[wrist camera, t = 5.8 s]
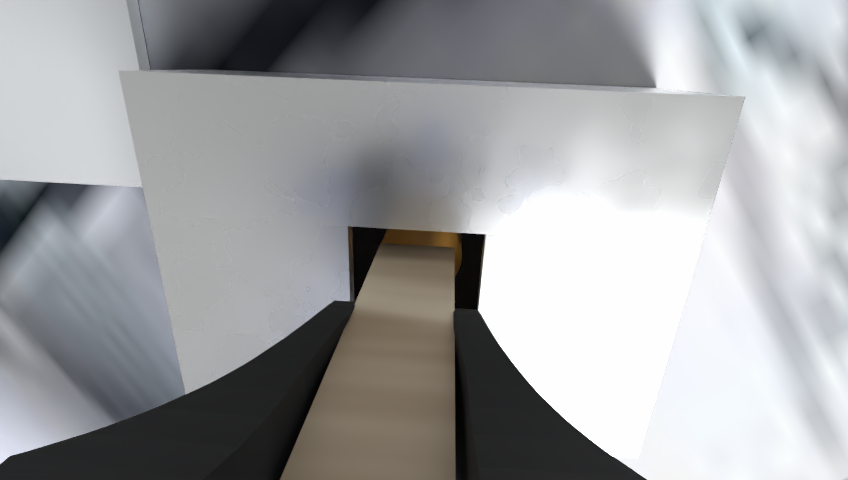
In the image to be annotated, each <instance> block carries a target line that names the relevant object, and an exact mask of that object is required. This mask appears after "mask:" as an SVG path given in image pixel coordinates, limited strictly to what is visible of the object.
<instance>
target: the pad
mask: <svg viewBox="0 0 848 480" xmlns="http://www.w3.org/2000/svg"><path fill="white" fill-rule="evenodd" d="M118 70H150V65H149V60H148V54H147V49H146V43H145V38H144V32H143V27H142V21H141V16H140V10H139V5H138V0H0V179H2V180H20V181H38V182H56V183H74V184H92V185H111V186H129V187H142V182H141V177H140V173H139V168H138V163H137V158H136V154H135V149H134V144H133V139H132V134H131V130H130V125H129V120H128V115H127V110H126V106H125V101H124V96H123V91H122V86H121V82H120V77H119V72H118Z"/></svg>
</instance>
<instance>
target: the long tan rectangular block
mask: <svg viewBox="0 0 848 480" xmlns="http://www.w3.org/2000/svg"><path fill="white" fill-rule="evenodd" d="M354 305H355V307H354V310H353V312H352V314H351V317H350V319H349V321H348V323H347V325H346V326H345V328H344V330H343V333H342V335H341V337H340V340H339V342H338V344H337V347H336V349H335V351H334V354H333V356H332V358H331V361H330V363H329V365H328V368H327V370H326V373H325V375H324V377H323V380H322V382H321V384H320V387H319V389H318V391H317V394H316V396H315V398H314V401H313V403H312V405H311V408H310V410H309V413H308V415H307V417H306V420H305V422H304V424H303V427H302V429H301V431H300V434H299V436H298V438H297V441H296V443H295V445H294V448H293V450H292V453H291V455H290V457H289V460H288V462H287V464H286V467H285V469H284V471H283V474H282V476H281V478H280V480H455V334H454V328H453V311H455V278H454V247H438V246H422V245H405V244H388V243H380V245H379V248H378V250H377V253H376V255H375V257H374V260H373V262H372V264H371V267H370V269H369V271H368V274H367V276H366V278H365V281H364V283H363V285H362V288H361V290H360V293H359V295H358V297H357V300H356V302H355V304H354Z"/></svg>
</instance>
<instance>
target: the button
mask: <svg viewBox="0 0 848 480" xmlns="http://www.w3.org/2000/svg"><path fill="white" fill-rule="evenodd" d="M382 243H388V244H405V245H422V246H438V247H454V277H455V276H456V274H457V273H458V271H459V269H460V266H461V262H462V241H461V233H455V232H437V231H420V230H403V229H387V230H386V233H385V235H384V238H383V240H382Z"/></svg>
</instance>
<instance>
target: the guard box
mask: <svg viewBox="0 0 848 480" xmlns="http://www.w3.org/2000/svg"><path fill="white" fill-rule="evenodd" d="M118 72H119V77H120V82H121V86H122V91H123V96H124V101H125V106H126V110H127V115H128V120H129V125H130V130H131V134H132V139H133V144H134V149H135V154H136V158H137V163H138V168H139V173H140V177H141V182H142V187H143V192H144V197H145V201H146V206H147V211H148V216H149V221H150V225H151V230H152V235H153V240H154V245H155V249H156V254H157V259H158V264H159V269H160V273H161V278H162V283H163V288H164V293H165V297H166V302H167V307H168V312H169V317H170V321H171V326H172V331H173V336H174V341H175V345H176V350H177V355H178V360H179V365H180V369H181V374H182V379H183V384H184V388H185V393H186V394H188V393H190V392H192V391H194V390H196V389H199V388H201V387H203V386H205V385H207V384H209V383H211V382H213V381H215V380H217V379H219V378H221V377H222V376H224V375H226V374H228V373H230V372H232V371H233V370H235V369H237V368H239V367H240V366H242V365H244V364H246V363H247V362H249V361H250V360H252V359H254V358H255V357H257V356H258V355H260V354H261V353H263V352H264V351H266V350H267V349H269V348H270V347H272V346H273V345H275V344H276V343H278V342H279V341H281V340H282V339H284V338H285V337H287V336H288V335H289V334H291V333H292V332H293V331H295V330H296V329H297V328H299V327H300V326H301V325H303V324H304V323H305V322H307V321H308V320H309V319H311V318H312V317H313V316H315V315H316V314H317V313H318V312H320V311H321V310H322V309H324V308H325V307H326V306H327V305H329V304H330V303H332V302H333V301H334V300H337V301H352V302H354V266H353V227H369V228H386V229H403V230H420V231H437V232H455V233H472V234H484V238H483V248H482V259H481V269H480V280H479V290H478V301H477V310H478V311H479V312H480V313H481V314H482V316H483V318H484V320H485V322H486V323H487V325H488V327H489V329H490V330H491V332H492V333H493V335H494V337H495V338H496V340H497V341H498V343H499V344H500V346H501V347H502V348H503V350H504V351H505V353H506V354H507V355H508V357H509V358H510V359H511V361H512V362H513V363H514V365H515V366H516V367H517V369H518V370H519V371H520V372H521V373H522V375H523V376H524V377H525V378H526V379H527V381H528V382H529V383H530V384H531V385H532V386H533V387H534V389H535V390H536V391H537V392H538V393H539V394H540V395H541V396H542V397H543V398H544V399H545V400H546V401H547V402H548V403H549V404H550V405H551V406H552V407H553V408H554V409H555V410H556V411H557V412H558V413H560V414H561V415H562V416H563V417H564V418H565V419H566V420H567V421H569V422H570V423H571V424H572V425H573V426H575V427H576V428H577V429H578V430H579V431H581V432H582V433H583V434H584V435H585V436H587V437H588V438H589V439H590V440H592V441H593V442H594V443H595V444H597V445H598V446H599V447H601V448H602V449H603V450H605V451H606V452H607V453H609V454H610V455H612V456H614V457H626V458H638V456H639V453H640V450H641V446H642V443H643V440H644V436H645V433H646V429H647V426H648V423H649V419H650V416H651V413H652V409H653V406H654V403H655V399H656V396H657V392H658V389H659V386H660V382H661V379H662V376H663V372H664V369H665V366H666V362H667V359H668V355H669V352H670V349H671V345H672V342H673V339H674V335H675V332H676V329H677V325H678V322H679V318H680V315H681V312H682V308H683V305H684V302H685V298H686V295H687V292H688V288H689V285H690V281H691V278H692V275H693V271H694V268H695V265H696V261H697V258H698V255H699V251H700V248H701V244H702V241H703V238H704V234H705V231H706V228H707V224H708V221H709V218H710V214H711V211H712V207H713V204H714V201H715V197H716V194H717V191H718V187H719V184H720V181H721V177H722V174H723V170H724V167H725V164H726V160H727V157H728V154H729V150H730V147H731V144H732V140H733V137H734V133H735V130H736V127H737V123H738V120H739V117H740V113H741V110H742V106H743V103H744V100H745V97H741V96H731V95H721V94H712V93H702V92H692V91H682V90H672V89H662V88H645V87H621V86H597V85H573V84H549V83H525V82H502V81H478V80H454V79H430V78H406V77H382V76H358V75H334V74H310V73H286V72H262V71H238V70H118Z"/></svg>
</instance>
